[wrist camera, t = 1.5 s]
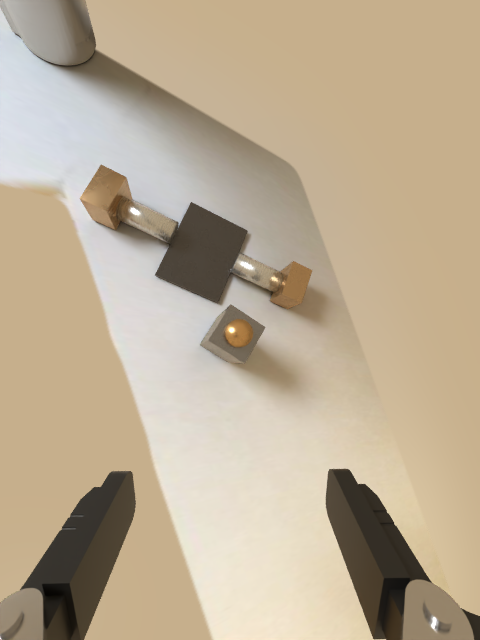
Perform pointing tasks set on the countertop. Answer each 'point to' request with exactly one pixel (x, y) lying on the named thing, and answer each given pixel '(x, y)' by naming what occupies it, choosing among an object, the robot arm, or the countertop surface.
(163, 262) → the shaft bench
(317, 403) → the countertop surface
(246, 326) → the gold-capped grey pillar
